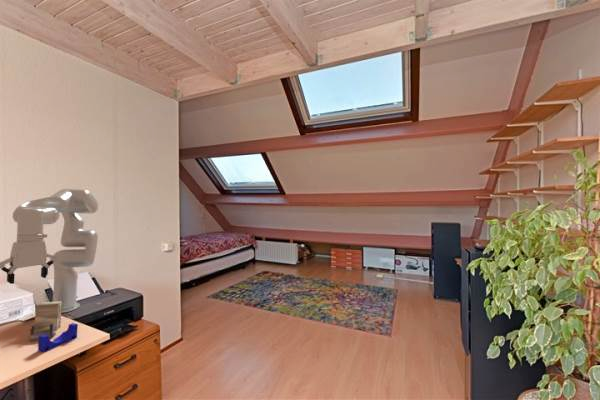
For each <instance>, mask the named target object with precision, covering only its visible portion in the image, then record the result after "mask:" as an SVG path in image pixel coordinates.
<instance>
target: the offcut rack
mask: <svg viewBox="0 0 600 400" xmlns="http://www.w3.org/2000/svg"><path fill="white" fill-rule="evenodd" d="M54 330H55V329H54V326H53V324H50V327H40V328H37V329H36V330H35V324H33V325H31V327H30V338H29V342H36V341H38V342H39V336H40V335H43V334H45V335H48V336H49V340H51V339H52V338H53V339H54V337H55V336H56V335H57V332H55V331H56V330H55V331H54Z"/></svg>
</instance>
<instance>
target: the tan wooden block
mask: <svg viewBox="0 0 600 400" xmlns="http://www.w3.org/2000/svg"><path fill="white" fill-rule="evenodd" d="M61 305H62V301H59V302H53V301H48V302H38V303H37V304H36V305H35V312H34V313H35V314H34V315H35V316H34V325H35V330H36V329H37V328H40V327H50V324H53V326H54V329H55V331H58V330H59V329H60V328H61V323H62V321H61V320H62V313H61Z"/></svg>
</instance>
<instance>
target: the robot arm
mask: <svg viewBox="0 0 600 400" xmlns="http://www.w3.org/2000/svg"><path fill="white" fill-rule="evenodd" d="M98 209H99V203H98V200H97V199H96V198H95V195H93V193H91V192H90V191H89V190H87V189H77V188H76V189H75V188H62V189H60V190H59V191H57V192H55V193H54V194H52V195H51V196H48V197H47V196H46V197H43V198H37V199H33V200H29V201H25V202H24V203H22V204H20V205H18V206H17V207H16V208H15V209H14V211H13V212H12V220H13V221H14V222H15V223H17V228H16V241H14V242H13V243H12V245H11V248H10V249H11V250H10V255H9V257H8V258H6V259H4V260H2V261H0V270H1V271H3V272H5V273H6V282H8V283H9V284H11V285H13V284H15V276H16V275H15V273H14V272H16V271H17V270H18V269H21V268H27V267H28V268H29V267H34V266H41V269H40V277H41V278H43V279H47V276H48V274H49V268H50V267H51V266H52V265H53V266H52V267H53V273H54V274H53V289H52V290H53V291H52V302H59V301H62V305H61V314H62V313H63V314H64V313H67V312H71V311H75V310H77V309H78V308H79V307H80V306H81V305H80V303H79V302H77V299H78V293H77V292H78V273H77V271H76V269H74V268H85V267H86V268H87V267H91V266H93V264H94V263H95V258H96V252H97V247H98V239H99V238H98V237H99V236H98V233H97V232H96V231H95V230H92V229H84V226H85V221H84V219H83V217H82V216H80V215H79V214H94V213H96V212H97V211H98ZM60 213H61V215H62V217H63V221H64V223H63V224H64V225H63V227H62V228H63V229H62V232H61V237H60V245H61V246H62V247H64V248H79V249H61V250H58V251H56V252H54V254H48V253H47V247H46V246H47V245H46V242H45V240H44V239H45V238H48V234H44V225H52V224H55V223H56V222H57V221H58V220H59V218H60ZM80 248H82V249H80ZM47 258H49V260H48V259H47ZM47 260H48V261H47ZM7 264H9V268H7V267H6V265H7Z"/></svg>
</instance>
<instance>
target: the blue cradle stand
mask: <svg viewBox="0 0 600 400" xmlns="http://www.w3.org/2000/svg"><path fill="white" fill-rule="evenodd" d="M78 324H79V323H74V322H72V323H69V324H68V326H67V327H68V328H67V330H65V331H62V332H61V333H60V335H58V336H57V337H55V338H53V340H52V341H51V339H49V336H48V335H45V334H43V335H40V336H39V340H38V345H37V351H38V352H41V353H45V352H48V351H50V350H53V349H54V348H56V347H59V346H61V345H64V344H66V343H68V342H71V341H72V340H74V339H76V338H78V327H79V325H78Z"/></svg>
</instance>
